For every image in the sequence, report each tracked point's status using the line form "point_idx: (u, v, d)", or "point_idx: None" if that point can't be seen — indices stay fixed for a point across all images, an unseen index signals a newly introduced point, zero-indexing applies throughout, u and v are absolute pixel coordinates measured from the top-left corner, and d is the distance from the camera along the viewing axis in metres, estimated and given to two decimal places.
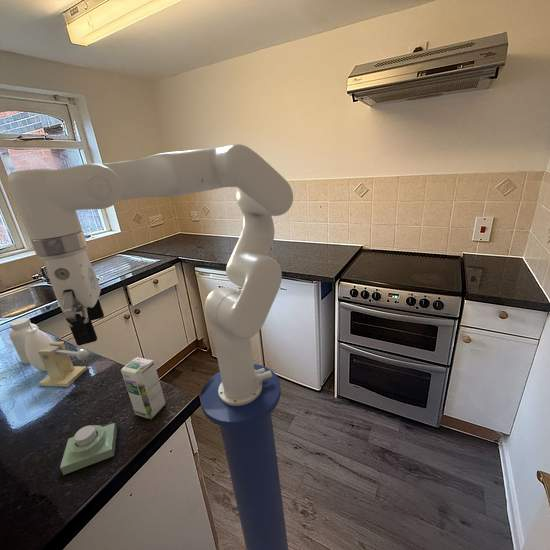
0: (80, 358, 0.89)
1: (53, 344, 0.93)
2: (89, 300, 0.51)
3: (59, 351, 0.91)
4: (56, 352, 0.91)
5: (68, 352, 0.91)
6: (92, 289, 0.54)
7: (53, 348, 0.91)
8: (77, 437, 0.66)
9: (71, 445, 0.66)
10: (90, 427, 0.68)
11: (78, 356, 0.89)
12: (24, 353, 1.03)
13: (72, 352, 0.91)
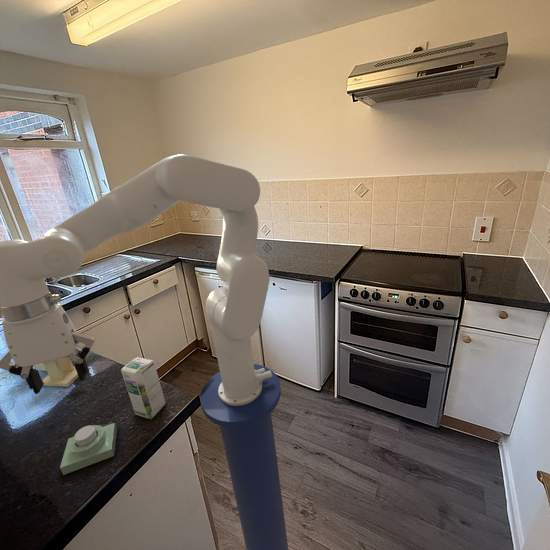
0: None
1: None
2: None
3: None
4: None
5: None
6: None
7: None
8: (77, 437, 0.66)
9: (71, 445, 0.66)
10: (90, 427, 0.68)
11: None
12: None
13: None
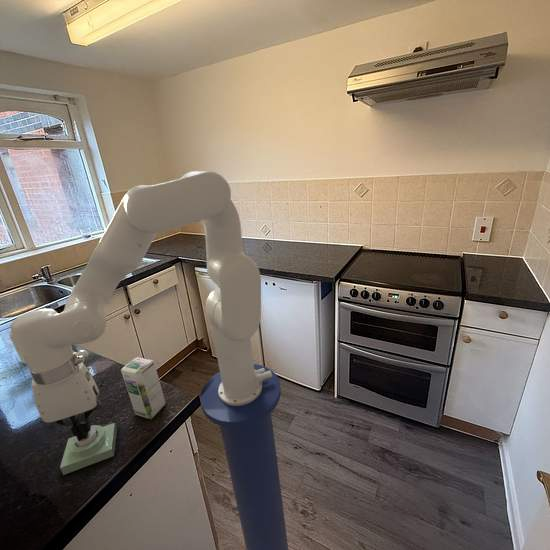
0: None
1: None
2: (97, 389, 0.68)
3: None
4: None
5: None
6: None
7: None
8: None
9: (71, 445, 0.66)
10: (91, 429, 0.68)
11: None
12: None
13: None
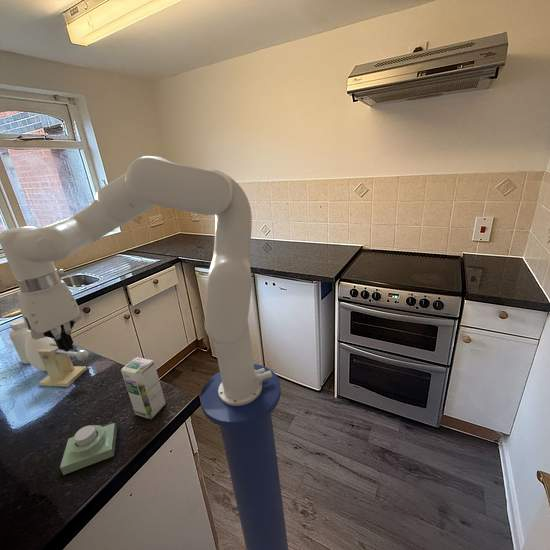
0: (80, 359, 0.89)
1: (53, 344, 0.93)
2: None
3: (59, 351, 0.91)
4: (56, 352, 0.91)
5: (68, 352, 0.91)
6: None
7: (53, 348, 0.91)
8: (77, 437, 0.66)
9: (71, 445, 0.66)
10: (90, 427, 0.68)
11: (78, 357, 0.89)
12: (24, 353, 1.03)
13: (72, 352, 0.91)
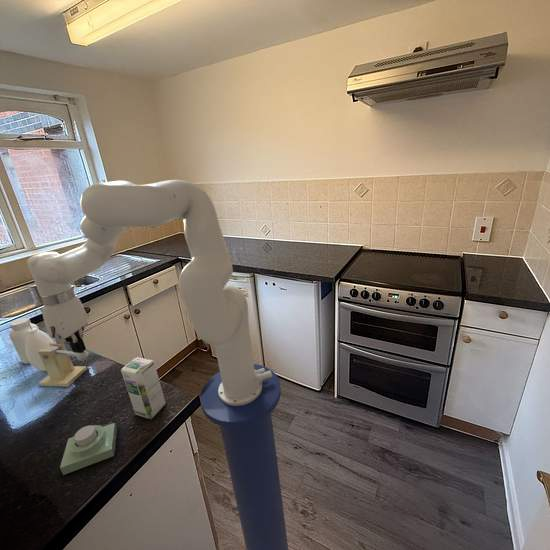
0: (80, 359, 0.89)
1: (53, 344, 0.93)
2: None
3: (59, 351, 0.91)
4: (56, 352, 0.91)
5: (68, 352, 0.91)
6: None
7: (53, 348, 0.91)
8: (77, 437, 0.66)
9: (71, 445, 0.66)
10: (90, 427, 0.68)
11: (78, 357, 0.89)
12: (24, 353, 1.03)
13: (72, 353, 0.91)
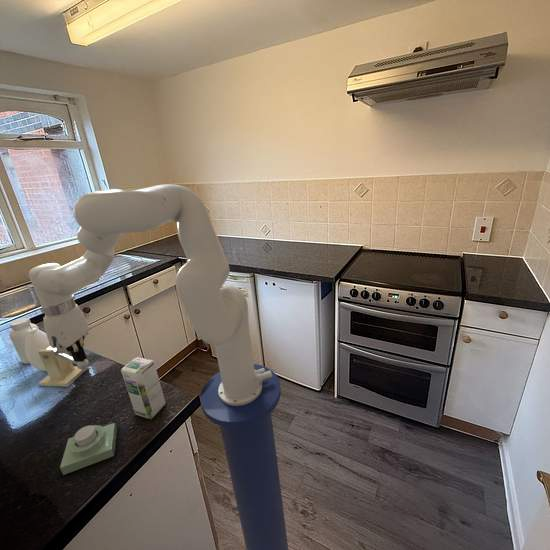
0: (81, 368, 0.91)
1: None
2: None
3: (60, 354, 0.91)
4: (56, 354, 0.91)
5: (69, 357, 0.91)
6: None
7: (54, 349, 0.91)
8: (77, 437, 0.66)
9: (71, 445, 0.66)
10: (90, 427, 0.68)
11: (79, 366, 0.90)
12: (24, 353, 1.03)
13: None
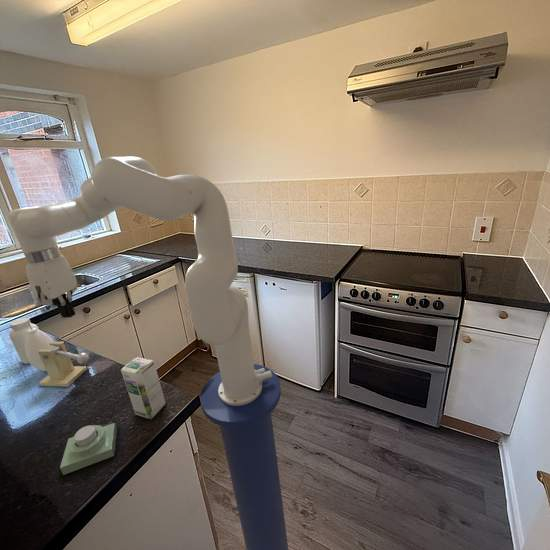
0: (81, 362, 0.90)
1: (53, 344, 0.93)
2: None
3: (59, 352, 0.91)
4: (56, 353, 0.91)
5: (69, 354, 0.91)
6: None
7: (54, 348, 0.91)
8: (77, 437, 0.66)
9: (71, 445, 0.66)
10: (90, 427, 0.68)
11: (79, 360, 0.89)
12: (24, 353, 1.03)
13: (73, 355, 0.91)
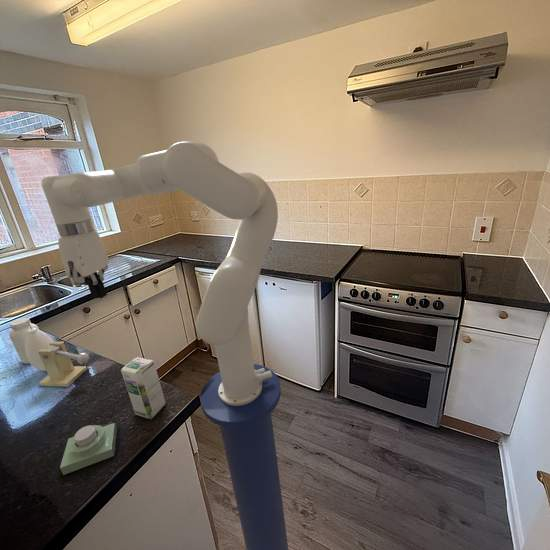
0: (81, 362, 0.90)
1: (53, 344, 0.93)
2: None
3: (59, 352, 0.91)
4: (56, 353, 0.91)
5: (69, 354, 0.91)
6: None
7: (54, 348, 0.91)
8: (77, 437, 0.66)
9: (71, 445, 0.66)
10: (90, 427, 0.68)
11: (79, 360, 0.89)
12: (24, 353, 1.03)
13: (73, 355, 0.91)
